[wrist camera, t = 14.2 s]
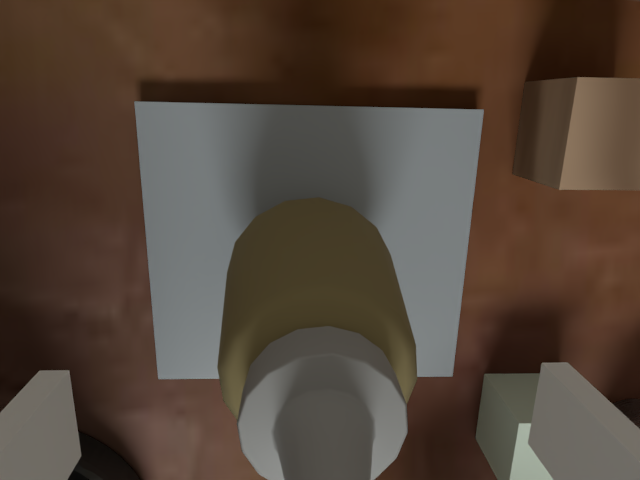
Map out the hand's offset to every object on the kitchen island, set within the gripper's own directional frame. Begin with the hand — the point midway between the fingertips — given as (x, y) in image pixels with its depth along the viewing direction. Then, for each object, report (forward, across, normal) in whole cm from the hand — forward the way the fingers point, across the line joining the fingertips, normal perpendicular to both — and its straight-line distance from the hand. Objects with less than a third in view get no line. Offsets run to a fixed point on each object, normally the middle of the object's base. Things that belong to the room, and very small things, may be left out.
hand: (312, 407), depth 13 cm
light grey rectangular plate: (+15, -1, 0) cm, 15 cm away
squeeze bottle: (+14, 0, 0) cm, 14 cm away
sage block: (+15, -15, +11) cm, 23 cm away
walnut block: (+15, -15, -7) cm, 22 cm away
